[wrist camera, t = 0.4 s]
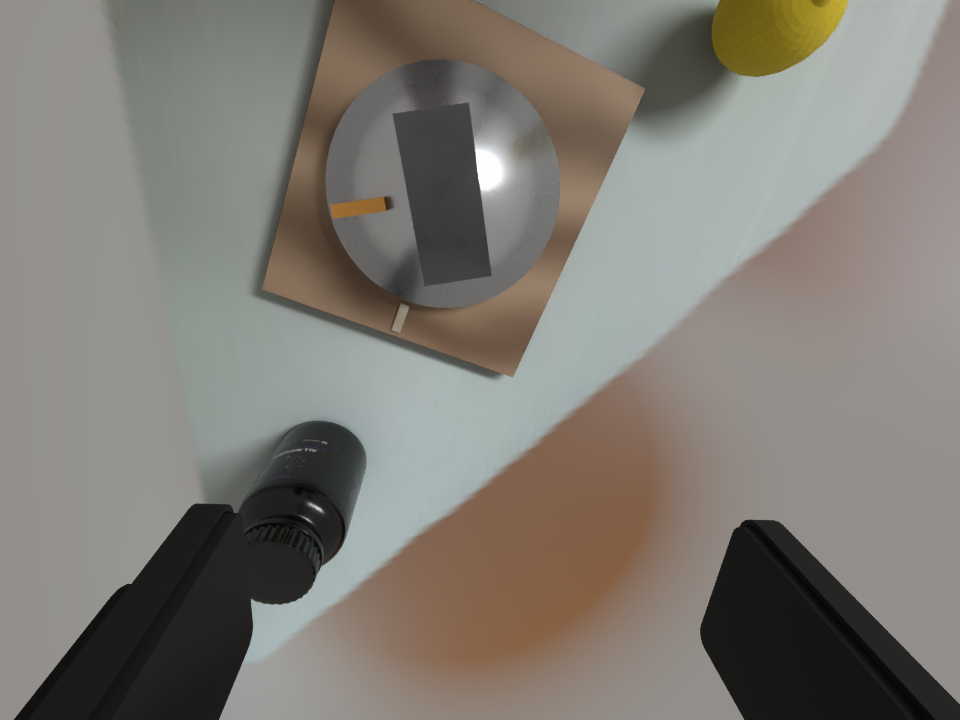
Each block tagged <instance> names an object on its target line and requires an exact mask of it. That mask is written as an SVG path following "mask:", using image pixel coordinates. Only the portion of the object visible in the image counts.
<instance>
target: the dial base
mask: <svg viewBox="0 0 960 720" xmlns="http://www.w3.org/2000/svg"><path fill="white" fill-rule="evenodd" d="M435 59H445V60H457V61H462V62H466V63H470V64H474V65H477V66H479V67H482V68H484V69H487V70H489V71H491V72H493V73H495V74H496V75H498V76H500V77H502V78H503V79H505V80H506V81H507V82H509V83H510V84H511V85H513V86H514V87H515V88H516V89H518V90H519V91H520V92H521V93H522V94H523V95H524V97H525V98H526V99H527V100H528V101H529V102H530V103H531V104H532V106H533V107H534V108H535V110H536V111H537V112H538V114H539V115H540V117H541V119H542V120H543V122H544V124H545V126H546V128H547V129H548V132H549V134H550V137H551V139H552V142H553V144H554V148H555V151H556V155H557V159H558V165H559V172H560V201H559V209H558V214H557V218H556V222H555V226H554V228H553V231H552V234H551V236H550V239H549V241H548V243H547V245H546V247H545V249H544V251H543V252H542V254H541V255H540V257H539V258H538V260H537V261H536V263H535V264H534V265H533V266H532V267H531V269H530V270H529V271H528V272H527V273H526V274H525V275H524V276H523V277H522V278H521V279H520V280H519V281H517V282H516V283H515V284H514V285H513V286H511V287H510V288H508V289H507V290H505V291H504V292H502V293H500V294H498V295H496V296H494V297H492V298H490V299H488V300H485V301H482V302H480V303H477V304H473V305H468V306H463V307H453V308H438V307H429V306H423V305H419V304H416V303H412V302H409V301H406V300H404V299H401V298H399V297H397V296H395V295H393V294H391V293H389V292H388V291H386V290H384V289H383V288H381V287H380V286H378V285H377V284H376V283H375V282H373V281H372V280H371V279H369V278H368V277H367V276H366V275H365V274H364V273H363V272H362V271H361V270H360V269H359V268H358V266H357V265H356V264H355V263H354V261H353V260H352V259H351V258H350V256H349V255H348V253H347V252H346V250H345V248H344V247H343V245H342V243H341V242H340V239H339V237H338V235H337V233H336V231H335V228H334V226H333V222H332V219H331V216H330V213H329V208H328V202H327V197H326V181H325V178H326V164H327V158H328V153H329V149H330V145H331V142H332V139H333V136H334V133H335V130H336V128H337V126H338V124H339V122H340V120H341V118H342V116H343V115H344V113H345V112H346V110H347V109H348V108H349V106H350V105H351V103H352V102H353V101H354V100H355V98H356V97H357V96H358V95H359V94H360V93H361V92H362V91H363V90H364V89H365V88H366V87H367V86H369V85H370V84H371V83H372V82H374V81H375V80H376V79H378V78H379V77H381V76H383V75H384V74H386V73H388V72H390V71H391V70H394V69H396V68H399V67H401V66H404V65H406V64H410V63H414V62H419V61H423V60H435ZM645 89H646V88H644V87H642V86H640V85H638V84H636V83H634V82H632V81H630V80H628V79H626V78H624V77H622V76H620V75H618V74H616V73H614V72H612V71H610V70H608V69H606V68H605V67H603V66H601V65H599V64H597V63H595V62H593V61H591V60H589V59H587V58H585V57H583V56H581V55H579V54H577V53H575V52H573V51H571V50H569V49H567V48H565V47H563V46H562V45H560V44H558V43H556V42H554V41H552V40H550V39H548V38H546V37H544V36H542V35H540V34H538V33H536V32H534V31H532V30H530V29H528V28H526V27H524V26H522V25H520V24H518V23H517V22H515V21H513V20H511V19H509V18H507V17H505V16H503V15H501V14H499V13H497V12H495V11H493V10H491V9H489V8H487V7H485V6H483V5H481V4H479V3H477V2H475V1H473V0H335V1H334V5H333V9H332V13H331V17H330V21H329V25H328V29H327V33H326V37H325V41H324V45H323V49H322V53H321V57H320V61H319V65H318V69H317V73H316V77H315V81H314V85H313V89H312V93H311V97H310V101H309V105H308V109H307V113H306V117H305V121H304V125H303V129H302V133H301V136H300V140H299V144H298V148H297V152H296V156H295V160H294V164H293V168H292V172H291V176H290V180H289V184H288V188H287V192H286V196H285V200H284V204H283V208H282V212H281V216H280V220H279V224H278V228H277V232H276V236H275V240H274V244H273V248H272V252H271V256H270V260H269V264H268V268H267V272H266V276H265V280H264V284H263V287H262V290H265V291H268V292H270V293H273V294H276V295H279V296H282V297H285V298H288V299H290V300H293V301H296V302H299V303H302V304H305V305H308V306H310V307H313V308H316V309H319V310H322V311H325V312H328V313H330V314H333V315H336V316H339V317H342V318H345V319H348V320H350V321H353V322H356V323H359V324H362V325H365V326H368V327H370V328H373V329H376V330H379V331H382V332H385V333H388V334H390V335H393V336H396V337H399V338H402V339H405V340H408V341H410V342H413V343H416V344H419V345H422V346H425V347H428V348H430V349H433V350H436V351H439V352H442V353H445V354H448V355H450V356H453V357H456V358H459V359H462V360H465V361H468V362H470V363H473V364H476V365H479V366H482V367H485V368H488V369H490V370H493V371H496V372H499V373H502V374H505V375H508V376H510V377H513V376H514V374H515V372H516V370H517V367H518V365H519V363H520V361H521V359H522V356H523V354H524V352H525V350H526V348H527V346H528V343H529V341H530V339H531V337H532V335H533V333H534V330H535V328H536V326H537V324H538V322H539V320H540V317H541V315H542V313H543V311H544V309H545V307H546V304H547V302H548V300H549V298H550V296H551V293H552V291H553V289H554V287H555V285H556V283H557V280H558V278H559V276H560V274H561V272H562V270H563V267H564V265H565V263H566V261H567V259H568V257H569V254H570V252H571V250H572V248H573V246H574V244H575V241H576V239H577V237H578V235H579V233H580V231H581V228H582V226H583V224H584V222H585V220H586V217H587V215H588V213H589V211H590V209H591V207H592V204H593V202H594V200H595V198H596V196H597V194H598V191H599V189H600V187H601V185H602V183H603V181H604V178H605V176H606V174H607V172H608V170H609V168H610V165H611V163H612V161H613V159H614V157H615V155H616V152H617V150H618V148H619V146H620V144H621V141H622V139H623V137H624V135H625V133H626V131H627V128H628V126H629V124H630V122H631V120H632V118H633V115H634V113H635V111H636V109H637V107H638V105H639V102H640V100H641V98H642V96H643V94H644V92H645Z"/></svg>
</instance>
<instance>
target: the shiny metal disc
mask: <svg viewBox="0 0 960 720" xmlns="http://www.w3.org/2000/svg"><path fill="white" fill-rule="evenodd" d="M325 181H326V197H327V202H328V208H329V213H330V216H331V219H332V222H333V226H334V228H335V231H336V233H337V235H338V237H339V239H340V242H341V243H342V245H343V247H344V248H345V250H346V252H347V253H348V255H349V256H350V258H351V259H352V260H353V261H354V263H355V264H356V265H357V266H358V268H359V269H360V270H361V271H362V272H363V273H364V274H365V275H366V276H367V277H368V278H369V279H371V280H372V281H373V282H375V283H376V284H377V285H378V286H380V287H381V288H383V289H384V290H386V291H388V292H389V293H391V294H393V295H395V296H397V297H399V298H401V299H404V300H406V301H409V302H412V303H416V304H419V305H423V306H429V307H438V308H453V307H463V306H468V305H473V304H477V303H480V302H482V301H485V300H488V299H490V298H492V297H494V296H496V295H498V294H500V293H502V292H504V291H505V290H507V289H508V288H510V287H511V286H513V285H514V284H515V283H516V282H517V281H519V280H520V279H521V278H522V277H523V276H524V275H525V274H526V273H527V272H528V271H529V270H530V269H531V267H532V266H533V265H534V264H535V263H536V261H537V260H538V258H539V257H540V255H541V254H542V252H543V251H544V249H545V247H546V245H547V243H548V241H549V239H550V236H551V234H552V231H553V228H554V226H555V222H556V218H557V214H558V209H559V201H560V172H559V165H558V159H557V155H556V151H555V148H554V144H553V142H552V139H551V137H550V134H549V132H548V129H547V128H546V126H545V124H544V122H543V120H542V119H541V117H540V115H539V114H538V112H537V111H536V110H535V108H534V107H533V106H532V104H531V103H530V102H529V101H528V100H527V99H526V98H525V97H524V95H523V94H522V93H521V92H520V91H519V90H518V89H516V88H515V87H514V86H513V85H511V84H510V83H509V82H507V81H506V80H505V79H503V78H502V77H500V76H498V75H496V74H495V73H493V72H491V71H489V70H487V69H484V68H482V67H479V66H477V65H474V64H470V63H466V62H462V61H457V60H445V59H435V60H423V61H419V62H414V63H410V64H406V65H404V66H401V67H399V68H396V69H394V70H391V71H390V72H388V73H386V74H384V75H383V76H381V77H379V78H378V79H376V80H375V81H374V82H372V83H371V84H370V85H369V86H367V87H366V88H365V89H364V90H363V91H362V92H361V93H360V94H359V95H358V96H357V97H356V98H355V100H354V101H353V102H352V103H351V105H350V106H349V108H348V109H347V110H346V112H345V113H344V115H343V116H342V118H341V120H340V122H339V124H338V126H337V128H336V130H335V133H334V136H333V139H332V142H331V145H330V149H329V153H328V158H327V164H326V178H325Z"/></svg>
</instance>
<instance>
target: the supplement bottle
mask: <svg viewBox="0 0 960 720" xmlns="http://www.w3.org/2000/svg"><path fill="white" fill-rule="evenodd" d="M365 469H366V454H365V450H364V448H363V446H362V444H361V442H360V441H359V439H358V438H357V437H356V436H355V435H354V434H353V433H352V432H351V431H349V430H348V429H346V428H345V427H343V426H341V425H338V424H335V423H332V422H326V421H313V422H307V423H304V424H301V425H299V426H297V427H295V428H294V429H292V430H291V431H290V432H289V433H288V434H287V435H286V436H285V437H284V438H283V440H282V441H281V443H280V444H279V445H278V447H277V449H276V450H275V452H274V453H273V455H272V457H271V458H270V460H269V461H268V463H267V464H266V466H265V468H264V469H263V471H262V472H261V474H260V476H259V477H258V479H257V480H256V482H255V483H254V485H253V487H252V488H251V490H250V491H249V493H248V495H247V496H246V498H245V499H244V501H243V503H242V505H241V507H240V509H239V511H238V513H240V514H241V515H242V517H243V524H244V535H245V545H246V556H247V567H248V577H249V588H250V598H251V599H253V600H254V601H256V602H261V603H264V604H271V605H273V604H279V605H281V604H283V603H290V602H293V601H296V600H297V599H299V598H302V597H303V595H305V594H307V593H308V591H309V589H311V587H312V586H313V583H314V581H315V579H316V576H317V573H318V572H319V570H320V568H321V566H323V565H324V564H326V563H327V562H329V561H330V560H331V559H332V558H333V557H335V555H336V554H337V553H338V552H339V550H340V549H341V547H342V546H343V543H344V541H345V538H346V536H347V532H348V529H349V525H350V522H351V518H352V515H353V512H354V508H355V505H356V501H357V498H358V494H359V491H360V488H361V484H362V481H363V477H364V473H365Z"/></svg>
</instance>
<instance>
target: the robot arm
mask: <svg viewBox="0 0 960 720" xmlns="http://www.w3.org/2000/svg"><path fill="white" fill-rule="evenodd" d="M252 631H253V620H252V609H251V598H250V588H249V577H248V567H247V556H246V545H245V535H244V524H243V517H242V515H241V514H240V513H233V509H232V507H231V505H228V504H194V505H192V506H191V507H190V508H189V509H188V511H187V512H186V513H185V515H184V516H183V517H182V519H181V520H180V521H179V523H178V524H177V525H176V527H175V528H174V529H173V530H172V532H171V533H170V534H169V536H168V537H167V538H166V540H165V541H164V542H163V543H162V545H161V546H160V547H159V549H158V550H157V551H156V553H155V554H154V555H153V557H152V558H151V559H150V560H149V562H148V563H147V564H146V566H145V567H144V569H143V570H142V571H141V572H140V574H139V575H138V576H137V577H136V579H135V580H134V581H133V583H132V584H126V585H124V586H123V587H121V588H119V589H118V590H117V591H116V592H115V593H114V594H113V595H112V596H111V597H110V599H109V600H108V601H107V602H106V604H105V605H104V606H103V608H102V609H101V610H100V611H99V613H98V614H97V615H96V616H95V618H94V619H93V620H92V621H91V623H90V624H89V625H88V627H87V628H86V629H85V630H84V632H83V633H82V634H81V635H80V637H79V638H78V639H77V640H76V642H75V643H74V644H73V645H72V647H71V648H70V649H69V651H68V652H67V653H66V654H65V656H64V657H63V658H62V659H61V661H60V662H59V663H58V664H57V666H56V667H55V668H54V670H53V671H52V672H51V673H50V675H49V676H48V677H47V678H46V680H45V681H44V682H43V684H42V685H41V686H40V687H39V688H38V690H37V691H36V692H35V694H34V695H33V696H32V698H31V699H30V700H29V701H28V702H27V704H26V705H25V707H23V709H22V710H21V711H20V713H19V714H18V715H17V716H16V718H15V719H14V720H219V718H220V716H221V713H222V711H223V708H224V706H225V704H226V701H227V699H228V696H229V694H230V691H231V689H232V686H233V684H234V682H235V679H236V677H237V674H238V672H239V670H240V667H241V665H242V662H243V660H244V657H245V655H246V653H247V650H248V647H249V645H250V641H251V637H252ZM700 634H701V640H702V644H703V646H704V648H705V650H706V652H707V654H708V655H709V657H710V659H711V661H712V662H713V664H714V666H715V668H716V670H717V671H718V673H719V675H720V677H721V679H722V680H723V682H724V684H725V686H726V688H727V689H728V691H729V693H730V695H731V696H732V698H733V700H734V702H735V704H736V705H737V707H738V709H739V711H740V712H741V714H742V716H743V718H744V720H960V704H959V703H958V702H957V701H956V700H955V699H954V698H953V697H952V696H951V695H950V694H949V693H948V692H947V691H946V690H945V689H944V688H943V687H942V686H941V685H940V684H939V683H938V682H937V681H936V680H935V679H934V678H933V677H932V676H931V675H930V674H929V673H928V672H927V671H926V670H925V669H924V668H923V667H922V666H921V665H920V664H919V663H918V662H917V661H916V660H915V659H914V658H913V657H912V656H911V655H910V654H909V652H908V651H907V650H905V648H904V647H903V646H902V645H901V644H900V643H899V642H898V641H897V640H896V639H895V638H894V637H893V636H892V635H891V634H890V633H888V631H887V630H886V629H885V628H884V627H883V626H882V625H881V624H880V623H879V622H878V621H877V620H876V619H875V618H874V617H873V616H872V615H871V614H870V613H869V612H868V611H867V610H866V609H865V608H864V607H863V606H862V605H861V604H860V603H859V602H858V601H857V600H856V599H855V598H854V597H853V596H852V595H851V594H850V593H849V592H848V591H847V590H846V589H845V588H844V587H843V586H842V585H841V584H840V582H838V581H837V579H835V577H834V576H833V575H832V574H831V573H830V572H828V570H827V569H826V568H825V567H824V566H823V565H822V564H821V563H820V562H819V561H818V560H817V559H816V558H815V557H814V556H813V555H812V554H811V553H810V552H809V551H808V550H807V549H806V548H805V547H804V546H803V545H802V544H801V543H800V542H799V541H798V540H797V539H796V538H795V537H794V536H793V535H792V534H791V533H790V532H789V531H788V530H787V529H786V528H785V527H784V526H783V525H782V524H781V523H779V522H777V521H774V520H745V521H744V522H742V523H741V525H740V527H737V528H736V529H734V531H733V533H732V536H731V539H730V542H729V545H728V548H727V551H726V554H725V557H724V560H723V562H722V565H721V568H720V571H719V574H718V577H717V580H716V583H715V586H714V589H713V592H712V595H711V597H710V600H709V603H708V606H707V609H706V613H705V615H704V618H703V621H702V624H701V628H700Z"/></svg>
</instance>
